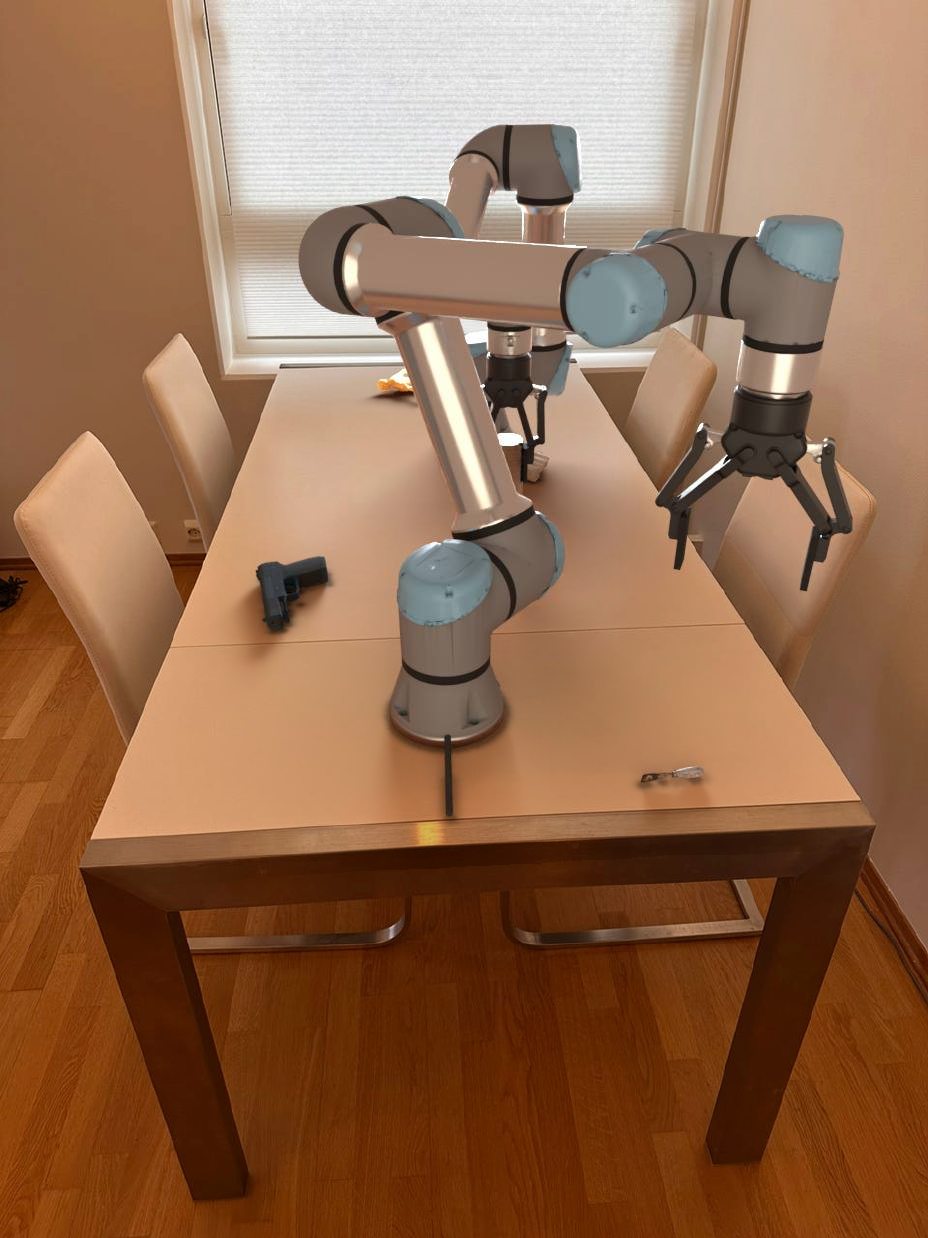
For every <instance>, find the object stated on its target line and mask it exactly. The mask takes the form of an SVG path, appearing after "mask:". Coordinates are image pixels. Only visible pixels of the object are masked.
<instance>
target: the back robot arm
mask: <svg viewBox="0 0 928 1238" xmlns="http://www.w3.org/2000/svg"><path fill="white" fill-rule="evenodd" d="M581 150H582V149H581V143H580V136H579V133H578V131H577V129H576V128H575V127H574V126H572V125H564V124H555V123H545V124H544V123H538V124H537V123H536V124H534V123H532V124H508V123H506V124H505V123H503V124H502V123H501V124H496V125H492V126H489V127H487V128H484V129H483V130H481V131H479V132H477V133H476V134H475V135H474V136H472V137H471V138H469V139H468V140H467V141H466V142H465V143H464V144H463V145H462V147H461V148H460V149H459V150H458V152H457V153H456V154H455V156H454V158H453V160H452V163H451V165H450V168H449V173H448V181H449V185H450V187H449V189H448V193H447V196H446V199H445V202H444V206H445V207H447V208H448V209H449V210H450V211H451V212H452V214H453V215H454V216H455V217H456V219H457V220H458V222H459V224H460V226H461V228H462V230H463V232H464V235H465V238H466V240H479V235H480V232H481V229H482V224H483V221H484V217H485V213H486V209H487V205H488V202H489V199H491V198H492V197H493V195H494V194H495V193H496V192H499V191H502V192H503V191H504V192H515V203H516V204H517V206H519V208H520V209H521V211H522V238H521V239H522V240H521V243H529V244H545V245H561V246H565V230H566V227H565V226H566V211H567V209H568V208H569V207H570V206H571V205H572V204H574V200H575V194H578V193H580V192H581V191H582V188H583V187H582V186H583V185H582V184H583V174H582V173H583V167H582V152H581ZM465 337H466V340H467V343H468V346H469V349H470V352H471V355H472V358H473V361H474V364H475V367H476V370H477V373H478V376H479V379H480V383H481V386H482V389H483V392H484V395H485V398H486V401H487V404H488V407H489V410H490V413H491V416H492V419H493V422H494V425H495V428H496V431H497V434H498V435H499V434H512V428H511V423H510V420H509V416H508V413H507V411H506V408H511V409H517V410H516V411H517V414H518V417H519V420H520V424H521V426H522V430H523V433H524V437H525V441H526V442H524V448H523V481H522V484H528V480H527V468H528V464H533V462H534V451H535V448H536V447H537V446H539V445H544V444H545V443H546V417H545V416H546V413H545V412H546V411H545V410H546V409H545V403H546V400H547V397H559V396H561V395H563V393H564V392H565V388H566V385H567V380H568V377H569V376H568V375H569V371H570V365H571V360H572V356H573V355H572V354H573V348H574V344H572V342H571V343H570V342H569V341H568V338H567V337H568V335H567V332H566V331H560V330H552V329H544V328H536V327H527V326H519V325H511V324H502V323H494V322H486V330H485V331H478V332H473V333H472V332H471V333H468V334H465ZM529 396H533V397H534V399H535V401H536V402H535V403H536V435H535V436H533V432H532V428H531V425H530V422H529V418H528V415H527V411H526V408H525V404H524V402H525V401H526V400H527V398H528V397H529Z"/></svg>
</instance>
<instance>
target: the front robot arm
mask: <svg viewBox="0 0 928 1238" xmlns="http://www.w3.org/2000/svg"><path fill="white" fill-rule="evenodd" d="M844 239H845V231H844V227H843V226H842V224H841V223H840V222H839V221H837V220H836V219H834V218H830V217H827V216H826V217H825V216H819V215H811V214H809V215H808V214H801V215H800V214H799V215H798V214H779V215H778V214H777V215H772V216H771V215H770V216H768V217H766V218H765V219H763V220H762V221H761V222H760V226H759V232H758V233H757V234H756V235H753V236H743V235H732V234H726V233H725V234H724V233H717V232H716V233H715V232H707V231H699V230H689V229H687V228H686V227H679V226H678V227H675V228H661V227H660V228H659V227H658V228H657V227H656V228H652V229H649V230H647V231H646V232H644V233H643V234H642V235H641V238H640V240H638V241H636V243H635V245H634V247H633V248H610V247H608V248H607V247H587V246H576V245H564V246H561V245H545V244H529V243H522V242H514V241H513V242H512V241H510V242H509V241H497V240H496V241H495V240H482V239H481V240H480V239H478V240H466V238H465V235H464V232H463V230H462V228H461V226H460V224H459V222H458V220H457V219H456V217H455V216H454V215H453V214H452V212H451V211H450V210H449V209H448V208H447V207H445V204H443V203H441V202H439V201H437V199H434V198H431V197H428V196H423V195H417V196H416V195H415V196H411V195H397V196H395V197H392V198H387V199H381V200H376V201H369V202H364V203H359V204H352V205H343V206H342V205H341V206H339V207H333V208H332V209H330V210H327V211H325V212H323V213H322V214H320V215H319V216H317V218H316V219H314V220H313V222H312V223H311V224H310V225H308V227H307V228H306V230H305V232H304V234H303V236H302V238H301V241H300V245H299V249H298V269H299V274H300V277H301V280H302V283H303V286H304V287H305V289H306V291H307V293H308V294H309V295H310V296H311V298H312V299H313V300H314V301H315V302H316V303H318V304H319V305H320V306H321V307H323V308H324V309H326V310H329V311H331V312H332V313H337V314H339V315H347V316H357V317H363V318H364V317H365V318H374V320H375V323H376V326H377V328H378V329H379V330H381V331H383V332H385V333H387V334H389V335H390V336H391V337H393V338H394V342H395V344H396V347H397V350H398V352H399V355H400V358H401V361H402V363H403V366H404V367H405V369H406V372H407V374H406V375H407V378H409V381H410V384H411V386H412V389H413V391H412V392H413V395H414V398H415V400H416V404H417V406H418V409H419V412H420V414H421V417H422V420H423V423H424V426H425V429H426V432H427V435H428V437H429V440H430V443H431V446H432V449H433V451H434V454H435V457H436V460H437V463H438V465H439V468H440V471H441V474H442V477H443V480H444V483H445V485H446V489H447V491H448V494H449V497H450V500H451V502H452V505H453V508H454V511H455V516H454V519H453V520H452V522H451V525H450V527H449V531H450V534H451V536H452V539H444V540H443V541H442V542H440V543H439V542H437V541H432V542H430V543H427V544H425V545H422V546H420V547H419V548H417V549H415V550H414V551H413V552H411V553H410V554H409V555H408V556H407V557H406V558H405V559H404V561H403V563H402V564H401V566H400V568H399V571H398V578H397V583H398V584H397V590H396V603H397V607H398V608H397V609H398V620H399V621H398V622H399V640H400V655H401V667H400V669H399V672H398V675H397V678H396V681H395V684H394V687H393V690H392V693H391V696H390V703H389V706H390V718H391V721H392V724H393V725H394V727H395V728H396V729H397V731H398V732H399V733H400V734H402V735H403V736H404V737H406V738H407V739H409V740H411V741H413V742H415V743H417V744H420V745H421V744H422V745H425V746H430V747H437V748H444V790H445V791H444V792H445V794H444V797H445V800H444V801H445V815H446V816H447V817H452V816H453V815H454V801H453V764H452V763H453V762H452V759H453V758H452V748H454V747H455V748H457V747H463V746H467V745H471V744H473V743H476V742H480V741H481V740H483V739H485V738H486V737H488V736H489V735H491V734H492V733H493V732H494V731H495V730H496V729H498V727H499V726H500V724H501V722H502V720H503V717H504V697H503V693H502V690H501V685H500V683H499V681H498V679H497V677H496V674H495V672H494V668H493V666H492V664H491V654H492V653H491V651H492V649H491V648H492V647H491V645H492V634H493V632H494V631H495V630H497V629H498V628H499V627H501V626H503V624H505V623H506V622H507V621H509V620H510V619H511V618H513V617H514V616H515V615H517V614H518V613H520V612H521V611H523V610H524V609H526V608H528V607H529V606H530V605H531V604H532V603H535V602H537V601H538V600H540V599H542V598H543V597H544V596H545V595H546V594H547V593H548V591H549V590H550V589H551V588H552V587H553V586H555V584H556V583H557V582H558V581H559V579H560V577H561V575H562V573H563V570H564V567H565V561H566V552H565V551H566V550H565V545H564V544H565V543H564V541H563V537H562V535H561V533H560V531H559V529H558V527H557V526H556V524H554V522H553V521H550V520H547V519H548V517H547V516H546V515H545V514H543V513H541V512H539V511H537V510H535V507H534V504H533V501H532V499H530V498H528V497H527V496H524V495H523V494H522V495H520V494H519V493H518V492H517V491H516V488H515V485H514V482H513V479H512V476H511V473H510V470H509V467H508V464H507V461H506V458H505V455H504V452H503V449H502V446H501V443H500V440H499V437H498V434H497V431H496V428H495V425H494V422H493V419H492V416H491V413H490V410H489V407H488V404H487V401H486V398H485V395H484V392H483V389H482V386H481V383H480V379H479V376H478V373H477V370H476V367H475V364H474V361H473V358H472V355H471V352H470V349H469V346H468V343H467V340H466V337H465V336H466V334H465V331H464V327H463V325H462V323H461V319H462V320H470V321H477V322H478V321H479V322H486V323H487V322H494V323H502V324H511V325H519V326H527V327H536V328H544V329H552V330H560V331H564V332H571V333H576V335H578V336H579V337H580V338H582V340H584V341H585V342H587V343H588V344H589V345H591V346H593V347H595V348H600V349H612V348H613V349H614V348H617V347H620V346H629V345H632V344H636V343H638V342H640V341H641V340H643V339H645V338H646V337H648V336H649V335H652V334H653V333H655V332H657V331H660V330H662V329H665V328H666V327H669V326H671V325H673V324H675V323H677V322H680V321H682V320H684V319H687V318H690V317H692V316H693V315H699V316H700V315H701V316H707V317H708V316H709V317H714V318H715V317H716V318H722V319H729V320H735V321H737V320H739V321H743V333H742V337H741V343H740V348H739V349H740V350H739V356H738V361H737V368H736V369H737V370H736V376H735V380H736V382H737V383H738V385H737V386H736V387H734V389H733V394H732V401H731V408H730V414H729V419H728V425H727V427H726V428H725V430H720V429H717V428H712V427H711V425H710V424H709V423H708V422H702V423H700V424H699V426H698V428H697V430H696V433H695V434H694V439H693V443H692V445H691V446H690V448H689V450H688V451H687V452H686V454H685V455H684V457H683V458H682V459H681V460H680V462H679V463H678V465H676V468H675V469H674V470H673V472H672V473H671V474H670V476H669V478H668V479H667V480H666V482H665V483H664V484H663V485H662V487H661V489H660V490H659V492H658V493H657V496H656V497H655V501H654V504H655V506H656V507H658V508H664V509H666V510H668V512H669V514H670V516H669V523H668V531H667V535H668V539H669V540H675V541H676V547H675V554H674V562H673V570H677V571H681V569H682V567H683V564H684V561H685V555H686V548H687V542H688V541H687V540H688V534H689V529H690V520H691V514H692V507H691V506H692V505H693V504H694V503H696V502H697V501H698V500H700V499H701V498H702V497H703V496H705V495H706V494H707V493H708V492H710V491H711V490H712V489H713V488H714V487H715V486H717V485H718V484H719V483H721V482H722V481H723V480H724V479H725V480H726V479H727V478H728V477H731V475H732V474H734V473H735V472H737V473H739V474H741V477H745V478H756V477H757V478H761V479H762V480H767V481H773V480H774V479H778V478H781V480H782V481H783V483H784V484H785V486H786V487H787V488H788V489H790V491H791V493H792V494H793V495H794V497H795V498H796V500H797V501H798V503H799V504H800V506H801V507H802V508H803V510H804V511H805V513H806V515H807V516H808V518H809V519H810V521H811V523H812V524H813V525H812V527H811V528H812V529H811V533H810V538H809V542H808V546H807V551H806V554H805V559H804V563H803V568H802V573H801V577H800V585H799V591H801V592H808V589H809V584H810V581H811V575H812V572H813V571H812V570H813V567H814V562H816V563H822V564H823V563H824V562H825V561H826V560H827V557H828V552H829V547H830V544H831V539H832V537H833V536H834V535H838V534H842V535H848V534H851V533H852V532H853V525H854V524H853V522H854V521H853V519H854V517H853V515H852V511H851V507H850V504H849V502H848V499H847V496H846V492H845V489H844V486H843V483H842V479H841V476H840V474H839V470H838V466H837V463H836V460H835V455H836V445H837V443H836V440H835V438H834V437H831V436H828V437H826V438H824V440H808V439H807V437H806V432H807V427H808V422H809V417H810V413H811V408H812V403H813V398H814V395H813V394H812V392H811V391H812V390H813V389H814V388H815V387H816V382H817V378H818V373H819V370H820V364H821V359H822V355H823V351H824V350H823V349H824V344H825V343H824V342H825V337H826V332H827V327H828V324H829V319H830V315H831V309H832V305H833V301H834V297H835V292H836V288H837V283H838V280H839V279H840V273H841V272H840V265H841V258H842V251H843V246H844ZM404 367H403V368H404ZM718 443H719V444H721V448H723V451H724V452H725V454H726V455H724V456H723V458H721V459H720V460H719V461H718V463H716V464H715V465H714V466H713V467H712V468H710V469H709V470H708V471H707V472H705V473H704V474H703V475H702V476H701V477H699V478H698V479H697V480H696V481H694V482H693V483H692V484H691V485H690V486H688V487H687V488H686V489H685V490H684V491H683V492H681V493H680V494H679V495H678V494H675V492H676V491H677V489H679V487H680V486H681V484H682V483H683V482H684V480H685V479H686V477H687V476H688V475H689V474H690V472H691V471H692V469H693V468H694V467H695V465H696V464H697V462H698V461H699V460H700V458H701V456H702V454H703V452H704V450H707V451H710V450H711V449H713V447H714V446H715V444H718ZM806 454H808V455H810V456H811V457H812V460H813V462H814V463H815V464H820V470H821V471H820V472H821V475H822V478H823V481H824V485H825V489H826V491H827V494H828V497H829V500H830V504H831V506H832V510H833V513H834V516H835V517H831V515H830V513H829V512H828V511H827V509H826V508H825V506H824V505H823V502H822V501H821V500H820V499H819V497H818V496H817V494H816V493H815V491H814V490H813V487H812V486H811V485H810V484H809V482H808V481H807V479H806V478H805V476H804V475H803V472H802V470H801V468H800V466H799V464H798V462H799V461H800V460H801V459H803V457H805V455H806Z"/></svg>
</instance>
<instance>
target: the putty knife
mask: <svg viewBox="0 0 928 1238" xmlns="http://www.w3.org/2000/svg"><path fill="white" fill-rule="evenodd" d="M704 772H705V771H704V768H702V767H701V766H697V765H695V766H688V767H683V768H679V769H675V770H673V771H671V772H653V773H652V772H651V773H650V772H649V773H644V774H642V776H641V779H640V783H642V784H645V783H648V782H653V781H659V780H665V779H668V778H673V779H674V778H675V779H693V778H694V779H695V778H700V777H702V776H703V775H704Z"/></svg>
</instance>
